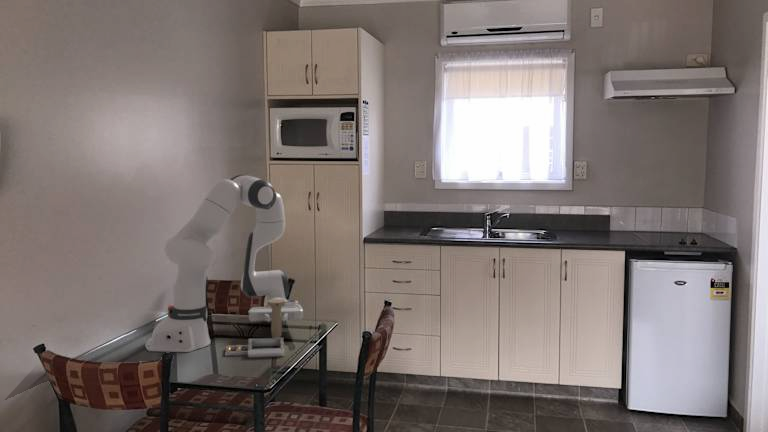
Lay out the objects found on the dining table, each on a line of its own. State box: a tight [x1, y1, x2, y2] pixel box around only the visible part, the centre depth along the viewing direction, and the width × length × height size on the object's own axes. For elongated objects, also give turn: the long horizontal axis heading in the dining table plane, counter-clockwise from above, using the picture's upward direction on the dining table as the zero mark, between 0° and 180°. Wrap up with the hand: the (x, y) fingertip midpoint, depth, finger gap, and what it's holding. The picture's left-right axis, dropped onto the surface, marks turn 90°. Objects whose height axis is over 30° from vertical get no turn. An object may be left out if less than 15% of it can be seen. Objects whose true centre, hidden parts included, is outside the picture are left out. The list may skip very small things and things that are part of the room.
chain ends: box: [224, 337, 285, 359], centre depth 232 cm, size 20×12×3 cm, turn 101°
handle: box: [268, 299, 285, 338], centre depth 244 cm, size 5×6×15 cm
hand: (276, 319), depth 243 cm, fingers closed on handle, 4 cm apart
